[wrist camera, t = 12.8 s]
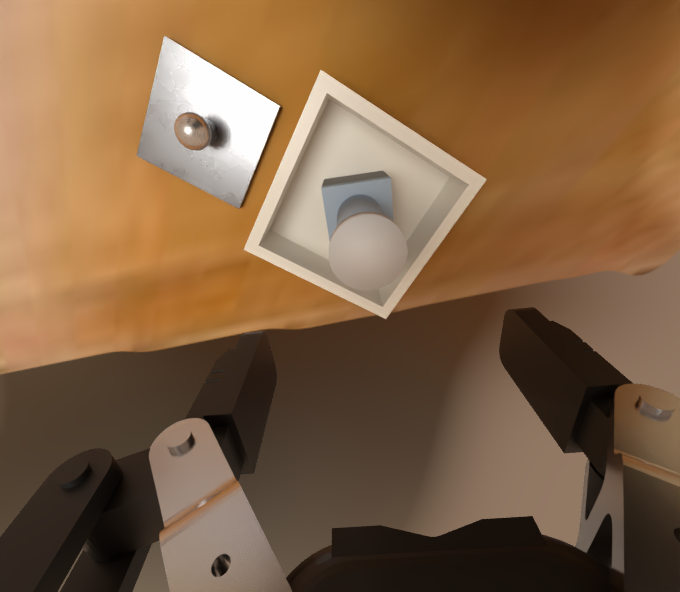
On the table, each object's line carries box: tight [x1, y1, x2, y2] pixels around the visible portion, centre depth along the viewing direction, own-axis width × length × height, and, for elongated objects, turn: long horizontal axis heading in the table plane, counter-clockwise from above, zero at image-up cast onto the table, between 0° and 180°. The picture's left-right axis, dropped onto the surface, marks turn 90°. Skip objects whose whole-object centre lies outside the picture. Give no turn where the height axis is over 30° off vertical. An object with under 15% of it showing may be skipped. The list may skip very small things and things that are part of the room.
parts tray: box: [244, 70, 487, 319], centre depth 29 cm, size 15×15×6 cm
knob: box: [321, 171, 408, 290], centre depth 25 cm, size 6×6×14 cm
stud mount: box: [137, 36, 281, 208], centre depth 27 cm, size 10×10×5 cm
